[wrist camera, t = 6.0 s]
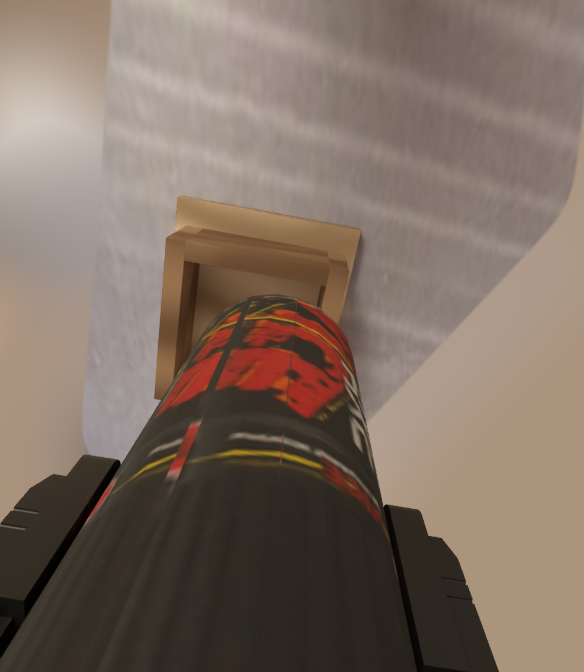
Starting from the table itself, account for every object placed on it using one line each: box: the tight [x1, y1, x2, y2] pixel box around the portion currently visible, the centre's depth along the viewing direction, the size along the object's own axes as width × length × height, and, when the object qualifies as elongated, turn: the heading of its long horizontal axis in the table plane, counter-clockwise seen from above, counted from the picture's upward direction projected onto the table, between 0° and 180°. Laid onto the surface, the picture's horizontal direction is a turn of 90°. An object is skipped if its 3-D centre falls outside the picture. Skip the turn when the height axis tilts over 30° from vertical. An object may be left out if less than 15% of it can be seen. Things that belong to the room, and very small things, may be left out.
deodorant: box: [0, 294, 417, 672], centre depth 11 cm, size 6×6×15 cm
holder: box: [154, 196, 361, 400], centre depth 34 cm, size 15×13×6 cm
